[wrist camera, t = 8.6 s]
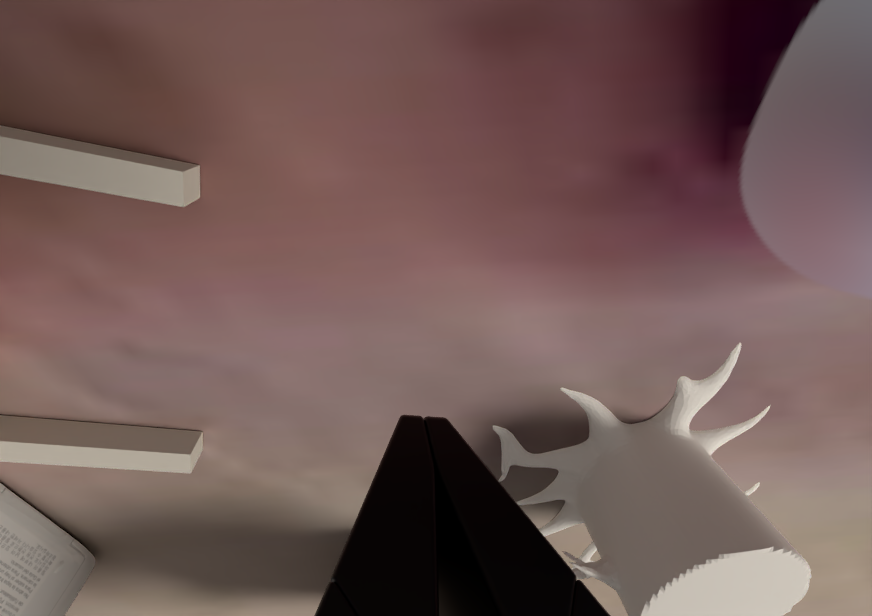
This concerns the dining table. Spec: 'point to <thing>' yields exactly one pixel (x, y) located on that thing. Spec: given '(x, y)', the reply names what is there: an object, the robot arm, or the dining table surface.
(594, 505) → the tree stump
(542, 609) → the robot arm
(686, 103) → the dining table surface
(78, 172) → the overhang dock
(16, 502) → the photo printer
